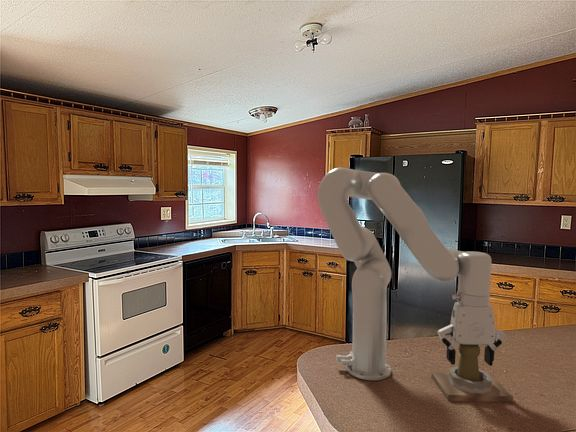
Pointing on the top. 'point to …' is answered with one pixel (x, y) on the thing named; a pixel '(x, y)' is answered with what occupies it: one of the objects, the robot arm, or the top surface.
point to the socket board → (469, 396)
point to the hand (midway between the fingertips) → (469, 362)
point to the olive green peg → (469, 362)
